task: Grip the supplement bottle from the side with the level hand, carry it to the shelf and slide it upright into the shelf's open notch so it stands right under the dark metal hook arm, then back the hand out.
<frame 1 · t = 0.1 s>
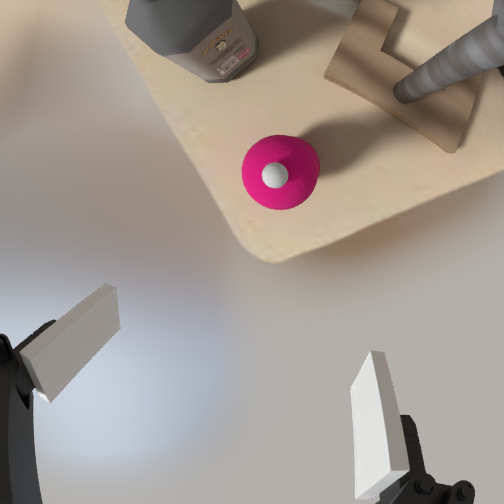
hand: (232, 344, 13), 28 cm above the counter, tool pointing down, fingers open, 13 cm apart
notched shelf: (409, 69, 28), on the counter
liquor: (223, 52, 33), on the counter
pepper mill: (291, 164, 37), on the counter
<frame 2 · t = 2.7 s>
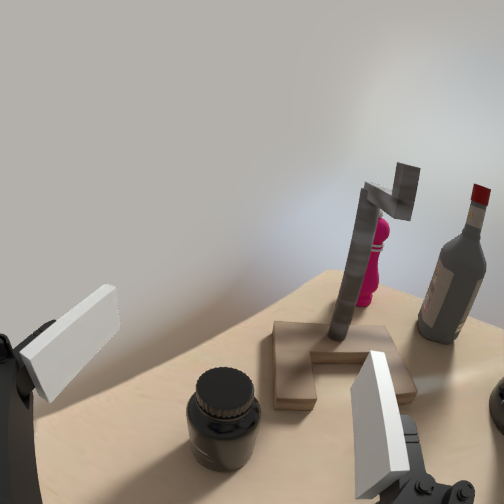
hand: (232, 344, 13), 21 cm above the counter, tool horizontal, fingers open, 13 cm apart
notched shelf: (338, 368, 39), on the counter
liquor: (435, 330, 48), on the counter
supplement bottle: (222, 449, 26), on the counter
pepper mill: (356, 299, 59), on the counter
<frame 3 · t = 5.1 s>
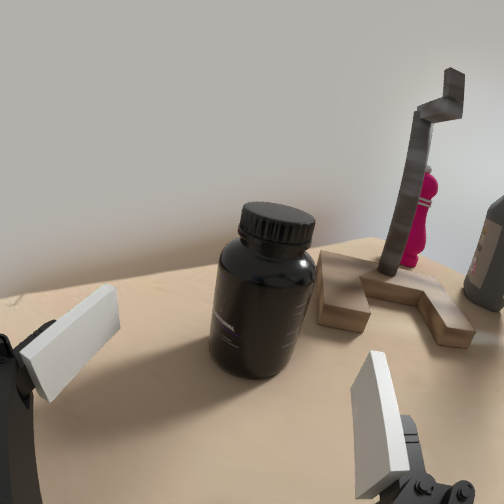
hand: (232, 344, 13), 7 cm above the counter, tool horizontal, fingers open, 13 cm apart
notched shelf: (388, 303, 34), on the counter
liquor: (480, 300, 40), on the counter
supplement bottle: (249, 354, 23), on the counter
pepper mill: (402, 261, 52), on the counter
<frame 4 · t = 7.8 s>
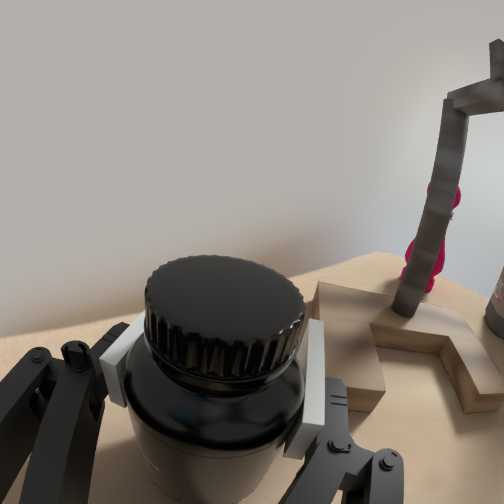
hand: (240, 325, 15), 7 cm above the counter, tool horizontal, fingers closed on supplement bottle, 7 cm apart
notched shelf: (404, 355, 24), on the counter
supplement bottle: (204, 463, 13), on the counter, touching gripper
pepper mill: (415, 284, 43), on the counter
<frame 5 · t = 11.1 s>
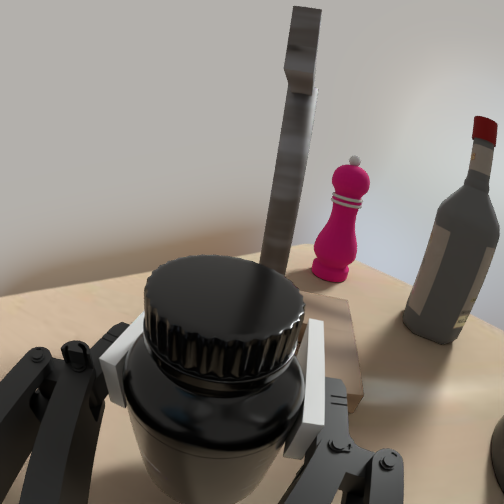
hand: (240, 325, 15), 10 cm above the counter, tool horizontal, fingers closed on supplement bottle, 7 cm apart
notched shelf: (255, 338, 29), on the counter
liquor: (428, 326, 35), on the counter
supplement bottle: (204, 463, 13), point 3 cm above the counter, touching gripper
pepper mill: (328, 274, 47), on the counter
when the fingers open (8 cm above the counter, at t = 14.8 s): supplement bottle drops 1 cm, on the counter.
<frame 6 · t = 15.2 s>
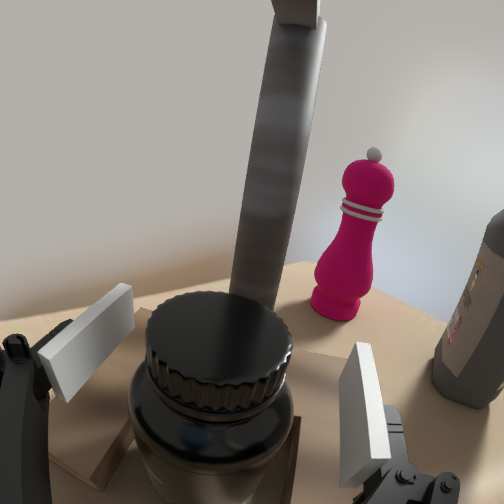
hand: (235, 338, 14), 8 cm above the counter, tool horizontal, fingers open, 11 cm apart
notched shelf: (218, 430, 17), on the counter
liquor: (460, 380, 23), on the counter
supplement bottle: (203, 472, 13), on the counter
pepper mill: (333, 308, 35), on the counter
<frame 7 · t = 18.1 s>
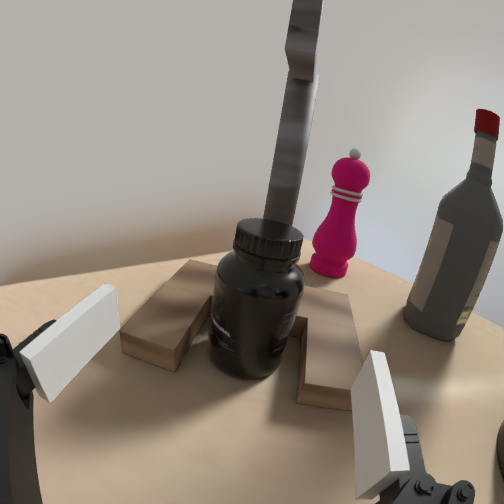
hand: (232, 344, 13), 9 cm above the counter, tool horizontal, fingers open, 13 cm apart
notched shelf: (252, 332, 28), on the counter
liquor: (429, 323, 34), on the counter
supplement bottle: (244, 356, 25), on the counter
pepper mill: (327, 270, 46), on the counter
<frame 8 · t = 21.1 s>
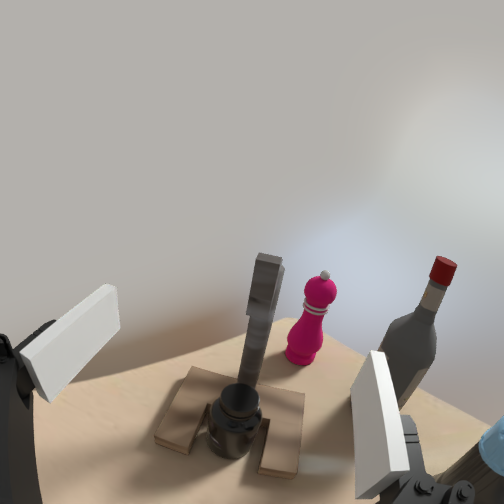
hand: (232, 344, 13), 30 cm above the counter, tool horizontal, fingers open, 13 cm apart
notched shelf: (235, 424, 38), on the counter
liquor: (372, 406, 44), on the counter
supplement bottle: (229, 442, 35), on the counter
pepper mill: (299, 356, 57), on the counter
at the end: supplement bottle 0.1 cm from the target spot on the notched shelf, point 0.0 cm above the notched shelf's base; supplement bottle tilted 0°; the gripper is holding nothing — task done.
